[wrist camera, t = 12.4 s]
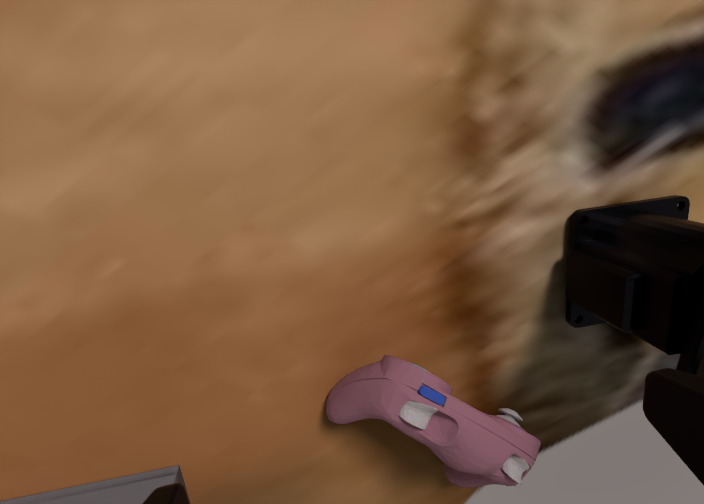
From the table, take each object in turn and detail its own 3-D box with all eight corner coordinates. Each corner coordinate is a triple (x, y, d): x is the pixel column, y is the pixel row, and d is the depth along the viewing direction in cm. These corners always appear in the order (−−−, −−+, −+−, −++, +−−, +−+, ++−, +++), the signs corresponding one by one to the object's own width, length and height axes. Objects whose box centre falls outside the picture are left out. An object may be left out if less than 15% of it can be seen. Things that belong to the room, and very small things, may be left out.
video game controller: (478, 407, 26) (578, 439, 20) (450, 481, 25) (548, 542, 18) (350, 331, 23) (420, 340, 17) (311, 410, 22) (370, 452, 15)
